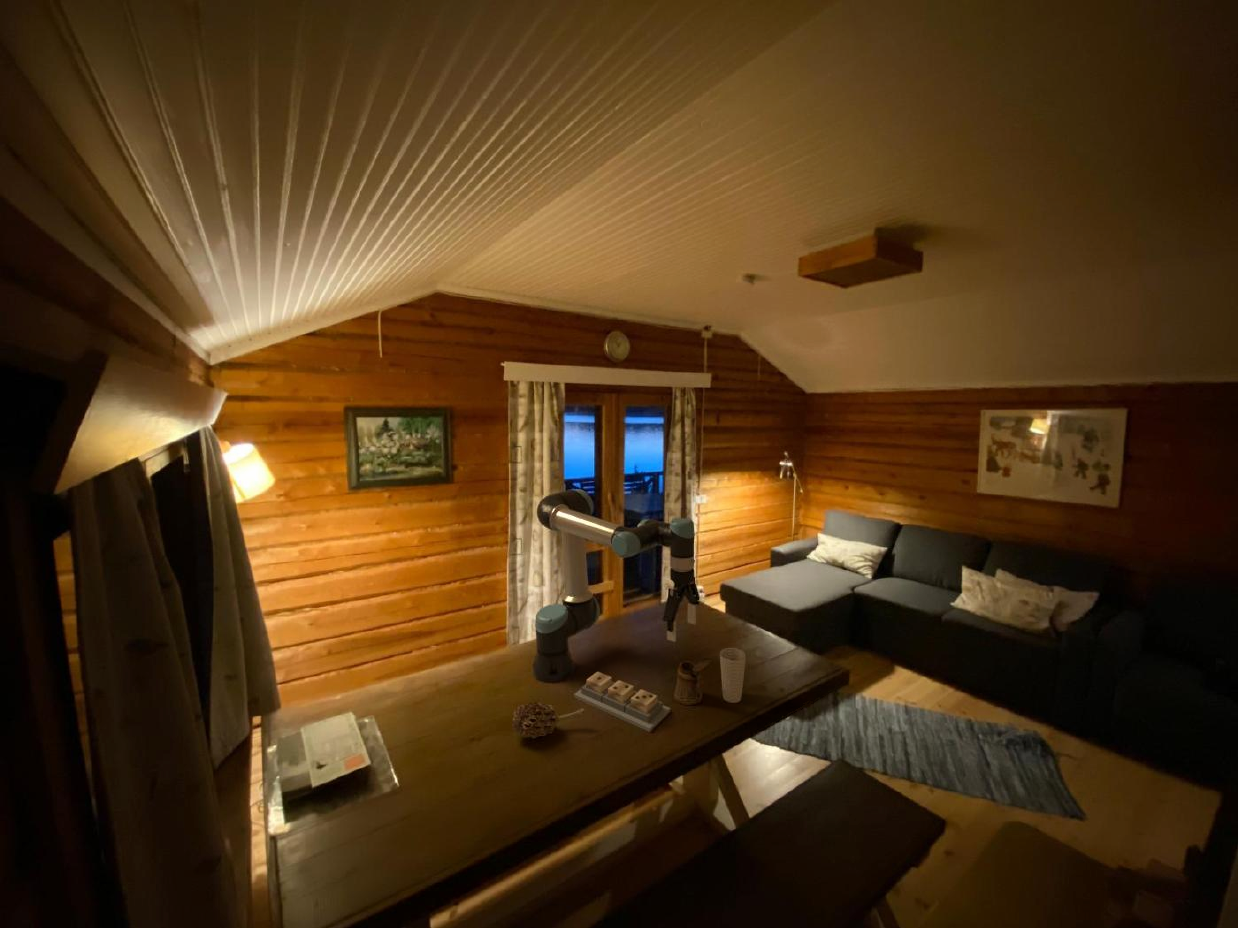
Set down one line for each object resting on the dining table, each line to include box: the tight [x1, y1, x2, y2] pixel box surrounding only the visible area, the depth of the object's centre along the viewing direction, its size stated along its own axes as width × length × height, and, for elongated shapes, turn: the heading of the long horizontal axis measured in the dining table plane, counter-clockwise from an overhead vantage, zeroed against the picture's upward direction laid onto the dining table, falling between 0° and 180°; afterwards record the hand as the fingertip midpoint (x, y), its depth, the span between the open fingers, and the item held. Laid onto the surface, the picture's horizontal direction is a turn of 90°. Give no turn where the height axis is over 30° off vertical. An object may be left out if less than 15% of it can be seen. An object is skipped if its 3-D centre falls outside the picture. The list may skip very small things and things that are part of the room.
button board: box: [573, 681, 671, 733], centre depth 166 cm, size 30×12×3 cm, turn 54°
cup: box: [719, 647, 747, 704], centre depth 168 cm, size 8×8×16 cm
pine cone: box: [512, 701, 585, 739], centre depth 153 cm, size 22×10×10 cm, turn 109°
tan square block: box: [585, 671, 613, 694], centre depth 171 cm, size 6×6×3 cm
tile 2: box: [608, 680, 635, 703], centre depth 166 cm, size 6×6×3 cm
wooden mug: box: [673, 658, 711, 706], centre depth 167 cm, size 9×14×18 cm, turn 30°
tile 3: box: [631, 689, 658, 714], centre depth 161 cm, size 6×6×3 cm
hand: (681, 631), depth 163 cm, fingers open, 13 cm apart
